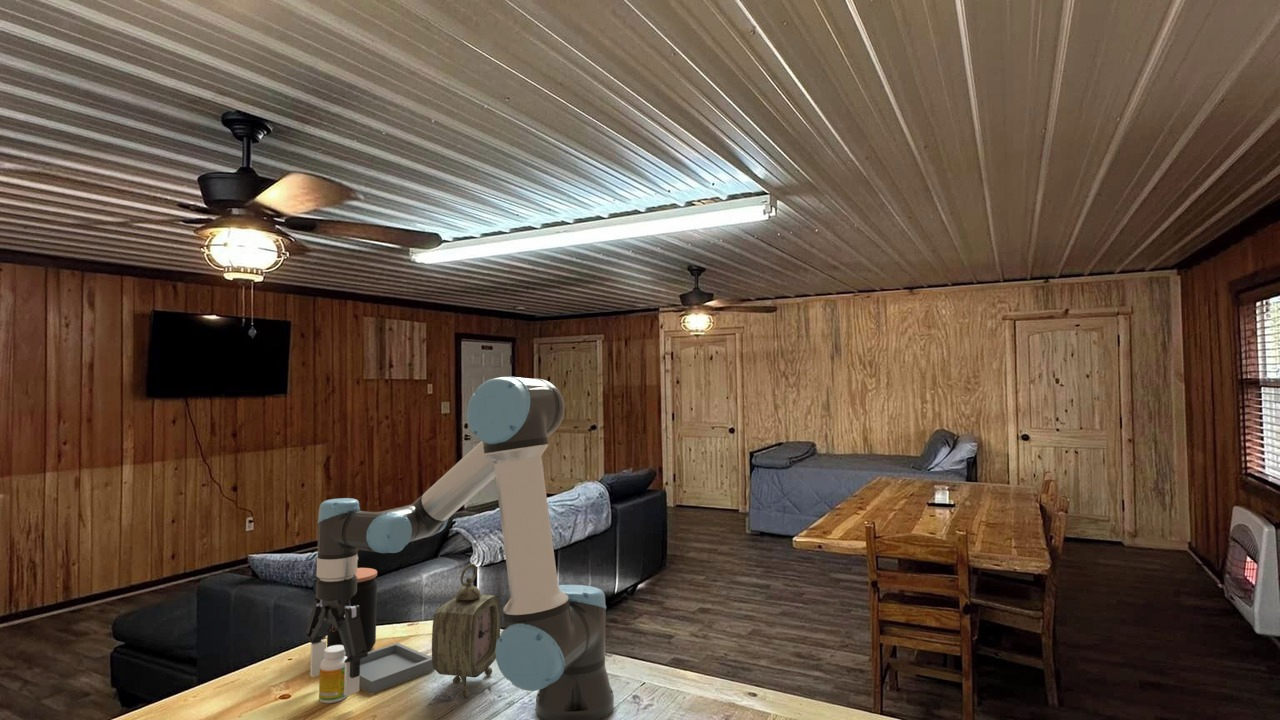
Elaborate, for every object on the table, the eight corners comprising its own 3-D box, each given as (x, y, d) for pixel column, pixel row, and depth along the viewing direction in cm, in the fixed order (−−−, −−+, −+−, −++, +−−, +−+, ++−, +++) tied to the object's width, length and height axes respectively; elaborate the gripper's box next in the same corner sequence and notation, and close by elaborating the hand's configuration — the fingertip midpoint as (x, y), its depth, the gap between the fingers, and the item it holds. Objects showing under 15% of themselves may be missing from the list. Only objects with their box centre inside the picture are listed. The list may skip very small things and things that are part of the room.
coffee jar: (317, 652, 155) (319, 574, 156) (359, 638, 164) (361, 565, 165) (342, 662, 149) (345, 582, 150) (384, 647, 158) (386, 572, 159)
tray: (434, 670, 145) (435, 658, 145) (371, 694, 133) (371, 681, 133) (396, 653, 154) (397, 642, 154) (334, 674, 142) (334, 662, 143)
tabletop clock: (469, 703, 130) (471, 574, 131) (427, 698, 131) (430, 572, 133) (499, 672, 144) (501, 557, 145) (461, 669, 146) (463, 555, 147)
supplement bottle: (344, 702, 129) (345, 652, 130) (315, 704, 129) (316, 654, 129) (351, 690, 135) (352, 642, 135) (323, 692, 134) (325, 644, 134)
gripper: (388, 583, 128) (385, 694, 127) (325, 562, 144) (322, 661, 142) (351, 592, 122) (348, 708, 121) (289, 570, 138) (286, 673, 137)
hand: (334, 683), depth 132 cm, fingers open, 13 cm apart
